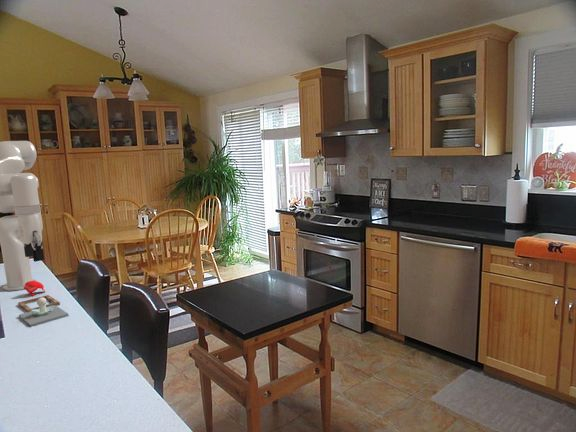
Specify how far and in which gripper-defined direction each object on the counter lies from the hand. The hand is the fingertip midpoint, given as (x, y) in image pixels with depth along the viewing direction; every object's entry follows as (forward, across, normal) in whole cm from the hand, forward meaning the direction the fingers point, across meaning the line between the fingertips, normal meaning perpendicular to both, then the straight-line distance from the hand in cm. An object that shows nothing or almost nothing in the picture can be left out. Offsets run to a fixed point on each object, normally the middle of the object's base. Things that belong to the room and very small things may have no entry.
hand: (34, 258), depth 152 cm
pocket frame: (+21, -13, +2) cm, 25 cm away
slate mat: (+21, +2, 0) cm, 21 cm away
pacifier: (+20, +2, 0) cm, 20 cm away
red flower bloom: (+22, -29, +6) cm, 36 cm away
